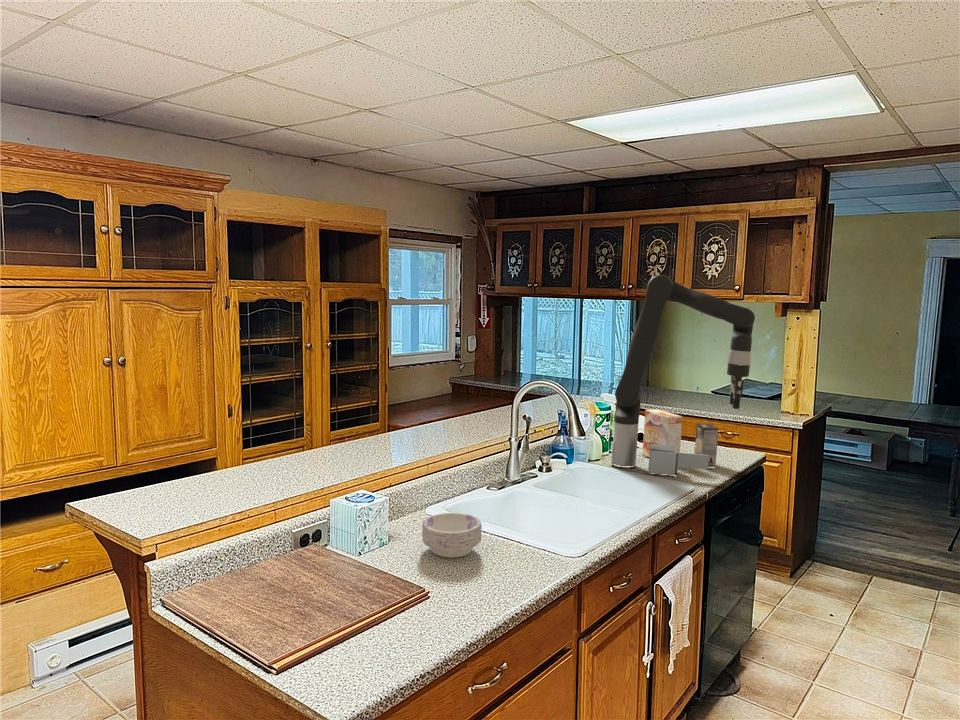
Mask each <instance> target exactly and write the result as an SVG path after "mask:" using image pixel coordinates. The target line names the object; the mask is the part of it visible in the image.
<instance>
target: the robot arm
mask: <svg viewBox="0 0 960 720" xmlns="http://www.w3.org/2000/svg"><path fill="white" fill-rule="evenodd" d="M645 292H646V293H645V298H644V302H643V306H642V310H641V312H640V314H639V317H638V320H637V322H636V325H635V328H634V330H633V332H632V337H631V340H630V343H629V347H628V352H627V357H626V360H625V366H624V370H623V372H622V375H621V377H620V380H619V382H618V384H617V387H616V388H615V391H614V396H615V400H616V402H615V411H614V420H613V433H612V434H613V438H612V446H611V447H612V448H611V463H610V464H616V465H620V466H635V465H637V453H638V452H637V451H638V450H637V449H638V435H639V434H638V433H639V419H640V414H641V399H642V390H641V385H642V381H643V377H644V374H645V371H646V369H647V368H648V366H649V363H650V362H651V359H652V357H653V354H654V351H655V349H656V345H657V342H658V339H659V335H660V329H661V323H662V322H661V321H662V316H663V312H664V310H665V307H666V305H667V302H668V301H670V302H675V303H679V304H681V305H684V306H687V307H689V308H691V309H694V310H696V311H698V312H700V313H702V314H704V315H706V316H709V317H713V318H715V319H719V320H723V321H725V322H727V323H730V324H731V325H732V336H731V340H730V348H729V354H728V361H727V367H726V368H727V369H726V375H728V376H730V385H729V394H730V395H729V397H730V398H729V405H732V409H735V410H739V409H740V406H741V405H740V403H741V399H742V398H743V392H744V391H743V389H744V384H745V383H744V381H743V378H747V377H749V376H750V371H751V370H750V368H751V360H752V359H751V358H752V356H751V353H752V343H753V338H752V334H753V329H754V323H755V319H756V316H755V313H754V312H753V311H752V310H751V309H750V308H748V307H743V306H741V305H737V304H734V303H731V302H729V301H727V300H725V299H722V298H720V297H717V296H714V295H710V294H708V293H704V292H702V291H697V290H694V289H692V288H688V287H687V286H684V285H682V284H680V283H678V282H676V281H674V280H673V279H672V278H670V277H669V276H667V275H664V274H658V275H654V276H653V277H651V278H650V279H649V281H648V283H647V285H646V291H645Z"/></svg>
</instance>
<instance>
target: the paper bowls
mask: <svg viewBox="0 0 960 720" xmlns="http://www.w3.org/2000/svg"><path fill="white" fill-rule="evenodd" d="M421 524H422V532H421V533H422V534H421V536H422V542H423V544H424V545H425V546H426V547H428V548H430V550H431V552H432V554H433V553H434V554H435V555H437V556H439V557H442V558H447V559H452V558H453V559H455V558H461V557H465V556H467V555H469V554H471V552H472V550H473V549H474V547H476V546H478V545H479V544H480V543H481V540H482V526H483V525H482V522H481V519H479V518H478V517H476V516H474V515H471V514H468V513H461V512H445V513H444V512H443V513H442V512H441V513H439V514H433V515H429V516H427V517H426V518H425V519H424V520H423V521H422V523H421Z"/></svg>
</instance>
